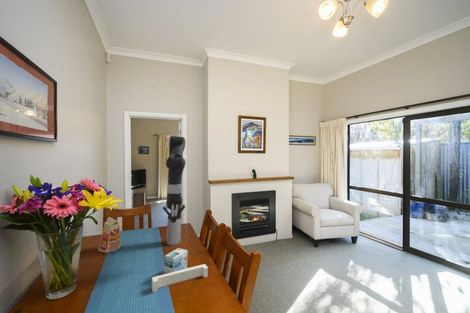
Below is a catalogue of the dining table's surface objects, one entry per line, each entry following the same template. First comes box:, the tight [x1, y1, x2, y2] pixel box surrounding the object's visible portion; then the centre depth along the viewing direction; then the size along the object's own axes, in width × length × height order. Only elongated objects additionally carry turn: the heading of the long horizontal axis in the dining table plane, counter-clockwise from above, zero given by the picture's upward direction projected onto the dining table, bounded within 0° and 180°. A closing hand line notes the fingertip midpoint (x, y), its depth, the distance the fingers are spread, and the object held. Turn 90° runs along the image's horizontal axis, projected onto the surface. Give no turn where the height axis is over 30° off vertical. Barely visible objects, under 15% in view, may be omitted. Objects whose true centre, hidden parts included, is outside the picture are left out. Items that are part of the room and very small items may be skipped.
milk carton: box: [98, 216, 121, 254], centre depth 127 cm, size 9×9×20 cm
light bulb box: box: [163, 247, 189, 274], centre depth 102 cm, size 11×7×11 cm, turn 156°
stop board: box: [151, 263, 209, 293], centre depth 95 cm, size 4×26×4 cm, turn 121°
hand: (173, 222), depth 112 cm, fingers closed
